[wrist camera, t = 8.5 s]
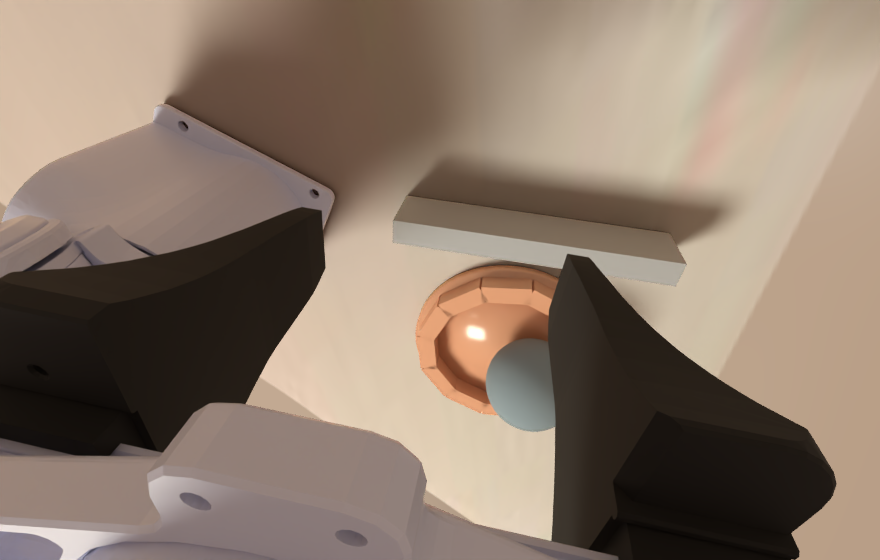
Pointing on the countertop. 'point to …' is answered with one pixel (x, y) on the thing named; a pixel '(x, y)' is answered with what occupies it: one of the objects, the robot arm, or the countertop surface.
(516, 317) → the bowl
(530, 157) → the countertop surface
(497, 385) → the ball
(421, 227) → the acrylic wall
